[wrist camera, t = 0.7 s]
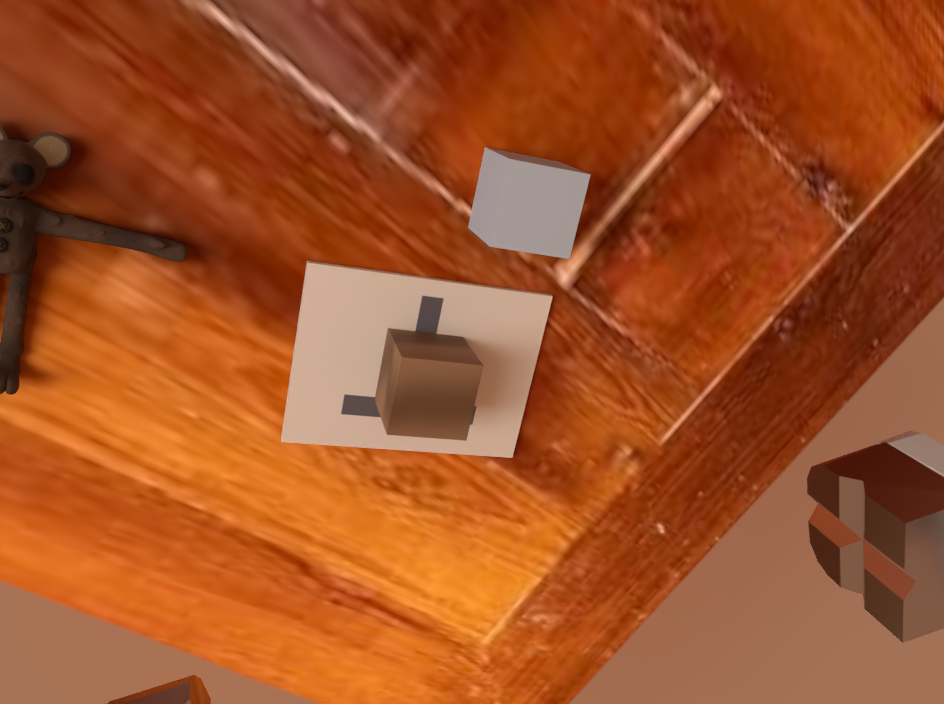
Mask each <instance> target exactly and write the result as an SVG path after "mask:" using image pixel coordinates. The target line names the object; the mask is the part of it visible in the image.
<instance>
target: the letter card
mask: <svg viewBox="0 0 944 704" xmlns="http://www.w3.org/2000/svg"><path fill="white" fill-rule="evenodd" d="M552 298H553V296H552V295H551V294H546V293H538V292H531V291H524V290H517V289H509V288H502V287H495V286H488V285H481V284H473V283H466V282H459V281H452V280H445V279H437V278H430V277H423V276H416V275H408V274H401V273H394V272H387V271H380V270H372V269H365V268H358V267H351V266H343V265H336V264H329V263H322V262H315V261H307V265H306V272H305V279H304V286H303V293H302V299H301V306H300V313H299V320H298V327H297V333H296V340H295V347H294V354H293V361H292V367H291V374H290V381H289V388H288V395H287V401H286V408H285V415H284V422H283V429H282V436H281V442H288V443H303V444H318V445H332V446H347V447H362V448H377V449H391V450H406V451H421V452H435V453H450V454H465V455H479V456H494V457H509V458H512V457H513V453H514V449H515V445H516V441H517V437H518V433H519V429H520V425H521V421H522V417H523V413H524V409H525V405H526V401H527V397H528V393H529V389H530V385H531V381H532V378H533V374H534V370H535V366H536V362H537V358H538V354H539V350H540V346H541V342H542V338H543V334H544V330H545V326H546V322H547V318H548V314H549V310H550V306H551V302H552ZM388 328H391V329H400V330H408V331H417V332H426V333H434V334H443V335H452V336H460V337H463V338H464V339H465V340H466V342H467V343H468V345H469V346H470V347H471V349H472V350H473V352H474V353H475V354H476V356H477V357H478V359H479V360H480V361H481V363H482V364H483V370H482V375H481V379H480V383H479V388H478V392H477V396H476V401H475V405H474V410H473V414H472V418H471V423H470V427H469V432H468V436H467V440H466V441H464V440H450V439H437V438H423V437H410V436H396V435H387V434H386V431H385V428H384V425H383V423H382V420H381V417H380V414H379V411H378V408H377V406H376V403H375V395H376V389H377V384H378V378H379V373H380V368H381V362H382V357H383V351H384V346H385V341H386V335H387V330H388Z"/></svg>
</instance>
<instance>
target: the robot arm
mask: <svg viewBox="0 0 944 704" xmlns="http://www.w3.org/2000/svg"><path fill="white" fill-rule="evenodd" d="M807 493H808V495H809V496H811V497H812V499H814V500H815V501H816V502H817V503H818V505H817V506H816V508H815V510H814V512H813V514H812V515H811V517H810V519H809V521H808V523H809V537H810V543H811V546H812V548H813V551H814V553H815V556H816V558H817V561H818V562H819V564H820V565H821V567H822V568H823V569H824V571H825V572H826V574H827V575H828V576H829V577H830V578H831V579H833V580H834V581H835V582H836V583H837V584H838V585H839V586H840V587H841V588H845V589H848V590H851V591H854V592H858V593H861V594H863V598H864V607H865V610H867V611H868V612H869V613H870V614H871V615H872V616H873V617H874V618H876V619H877V620H878V621H879V622H880V623H881V624H882V625H884V626H885V627H886V628H887V629H888V630H889V631H890V632H892V633H893V634H894V635H895V636H896V637H897V638H898V639H899V640H900V641H901V642H906V641H909V640H912V639H915V638H917V637H920V636H923V635H926V634H929V633H932V632H934V631H937V630H940V629H943V628H944V445H942V444H941V443H939V442H937V441H935V440H933V439H932V438H930V437H928V436H926V435H924V434H922V433H919V432H912V431H908V432H905V433H903V434H900V435H897V436H895V437H892V438H889V439H887V440H884V441H881V442H878V443H877V444H876V445H873V446H870V447H868V448H864V449H861V450H858V451H855V452H853V453H850V454H847V455H844V456H841V457H838V458H835V459H832V460H829V461H826V462H824V463H821V464H818V465H815V466H812V467H811V469H810V471H809V474H808V477H807ZM210 701H211V699H210V697H209V695H208V693H207V691H206V688H205V686H204V684H203V682H202V680H201V678H199V677H197V676H195V675H192V676H189V677H186V678H183V679H180V680H177V681H173V682H170V683H167V684H164V685H161V686H157V687H154V688H151V689H148V690H145V691H142V692H139V693H136V694H132V695H129V696H126V697H123V698H119V699H116V700H113V701H110V702H109V703H107V704H210Z"/></svg>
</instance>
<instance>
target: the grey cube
mask: <svg viewBox="0 0 944 704" xmlns="http://www.w3.org/2000/svg"><path fill="white" fill-rule="evenodd" d="M590 175H591V174H588V173H586V172H583V171H581V170H579V169H576V168H574V167H571V166H569V165H566V164H564V163H562V162H558V161H553V160H548V159H543V158H538V157H533V156H528V155H522V154H517V153H512V152H507V151H502V150H497V149H492V148H487V147H485V150H484V155H483V159H482V164H481V169H480V174H479V178H478V183H477V188H476V193H475V197H474V202H473V207H472V212H471V216H470V221H469V226H468V228H469V229H470V230H471V231H473V232H474V233H475V234H476V235H477V236H478V237H479V238H481V239H482V240H483V241H484V242H485V243H486V244H488V245H489V246H490V247H495V248H502V249H508V250H515V251H521V252H528V253H534V254H541V255H547V256H553V257H560V258H566V259H570V255H571V251H572V247H573V243H574V239H575V235H576V231H577V227H578V223H579V219H580V215H581V211H582V207H583V203H584V199H585V195H586V191H587V187H588V183H589V179H590Z"/></svg>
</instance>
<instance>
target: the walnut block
mask: <svg viewBox="0 0 944 704" xmlns="http://www.w3.org/2000/svg"><path fill="white" fill-rule="evenodd" d="M482 370H483V364H482V363H481V361H480V360H479V359H478V357H477V356H476V354H475V353H474V352H473V350H472V349H471V347H470V346H469V345H468V343H467V342H466V340H465V339H464V338H463V337H460V336H452V335H443V334H434V333H426V332H417V331H408V330H400V329H391V328H388V330H387V335H386V341H385V346H384V351H383V357H382V362H381V368H380V373H379V378H378V384H377V389H376V395H375V403H376V406H377V408H378V411H379V414H380V417H381V420H382V423H383V425H384V428H385V431H386V434H387V435H396V436H410V437H423V438H437V439H450V440H464V441H466V440H467V436H468V432H469V427H470V423H471V418H472V414H473V410H474V405H475V401H476V396H477V392H478V388H479V383H480V379H481V375H482Z"/></svg>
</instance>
